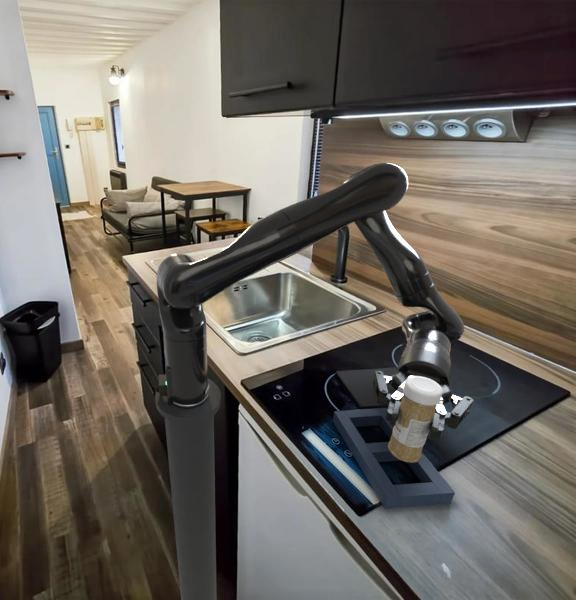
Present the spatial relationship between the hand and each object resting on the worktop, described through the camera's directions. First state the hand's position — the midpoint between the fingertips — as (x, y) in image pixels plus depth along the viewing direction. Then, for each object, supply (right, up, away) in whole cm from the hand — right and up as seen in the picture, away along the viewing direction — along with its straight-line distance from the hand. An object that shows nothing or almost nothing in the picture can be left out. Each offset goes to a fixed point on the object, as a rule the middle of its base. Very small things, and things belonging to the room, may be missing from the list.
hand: (412, 427), depth 52 cm
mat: (+11, -1, +28) cm, 30 cm away
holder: (+2, -9, +11) cm, 15 cm away
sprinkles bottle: (+2, -6, +5) cm, 8 cm away
